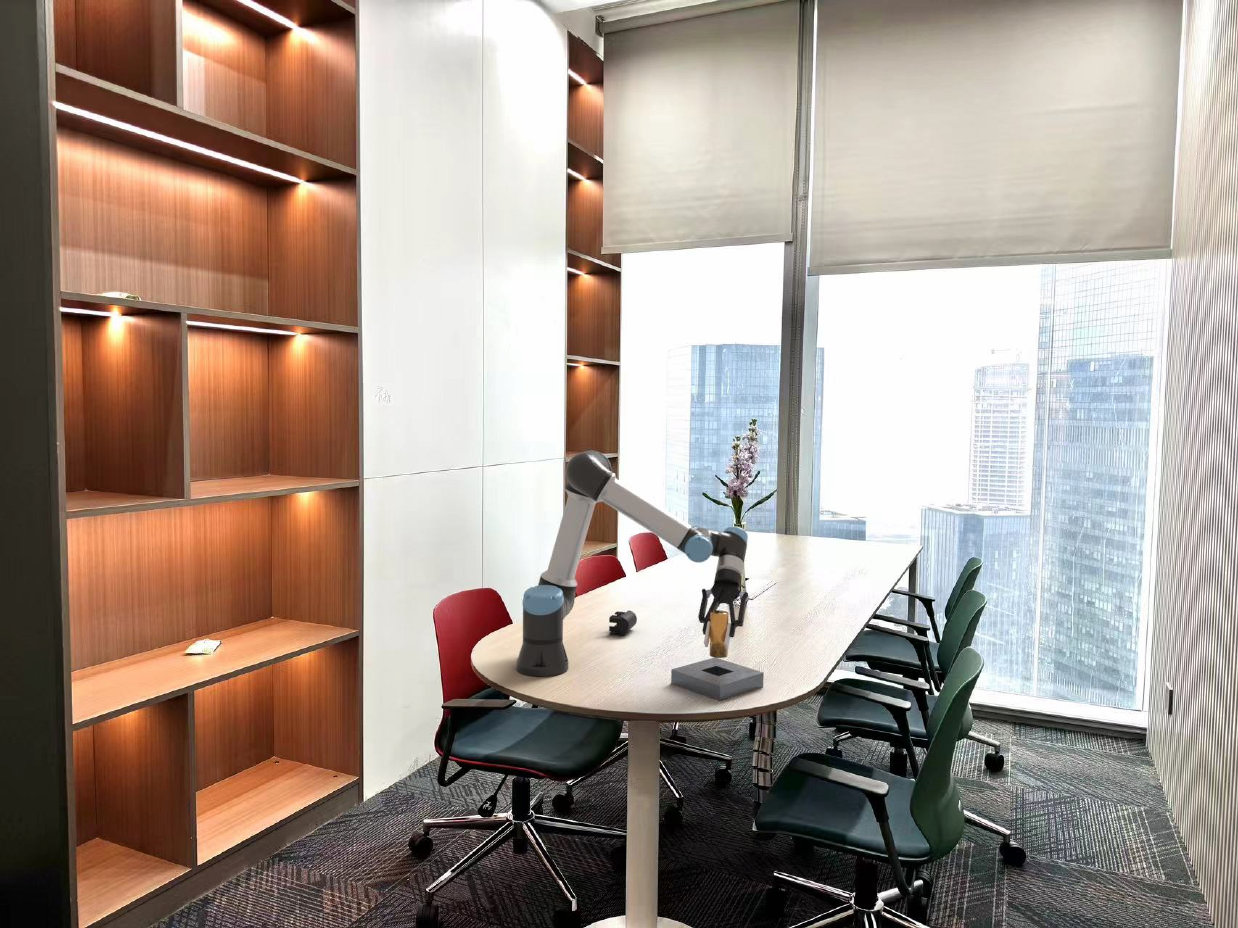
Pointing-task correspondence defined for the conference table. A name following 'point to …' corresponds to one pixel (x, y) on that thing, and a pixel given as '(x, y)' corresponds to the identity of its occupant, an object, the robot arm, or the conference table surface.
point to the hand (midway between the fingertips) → (716, 645)
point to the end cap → (622, 622)
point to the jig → (717, 678)
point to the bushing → (718, 633)
